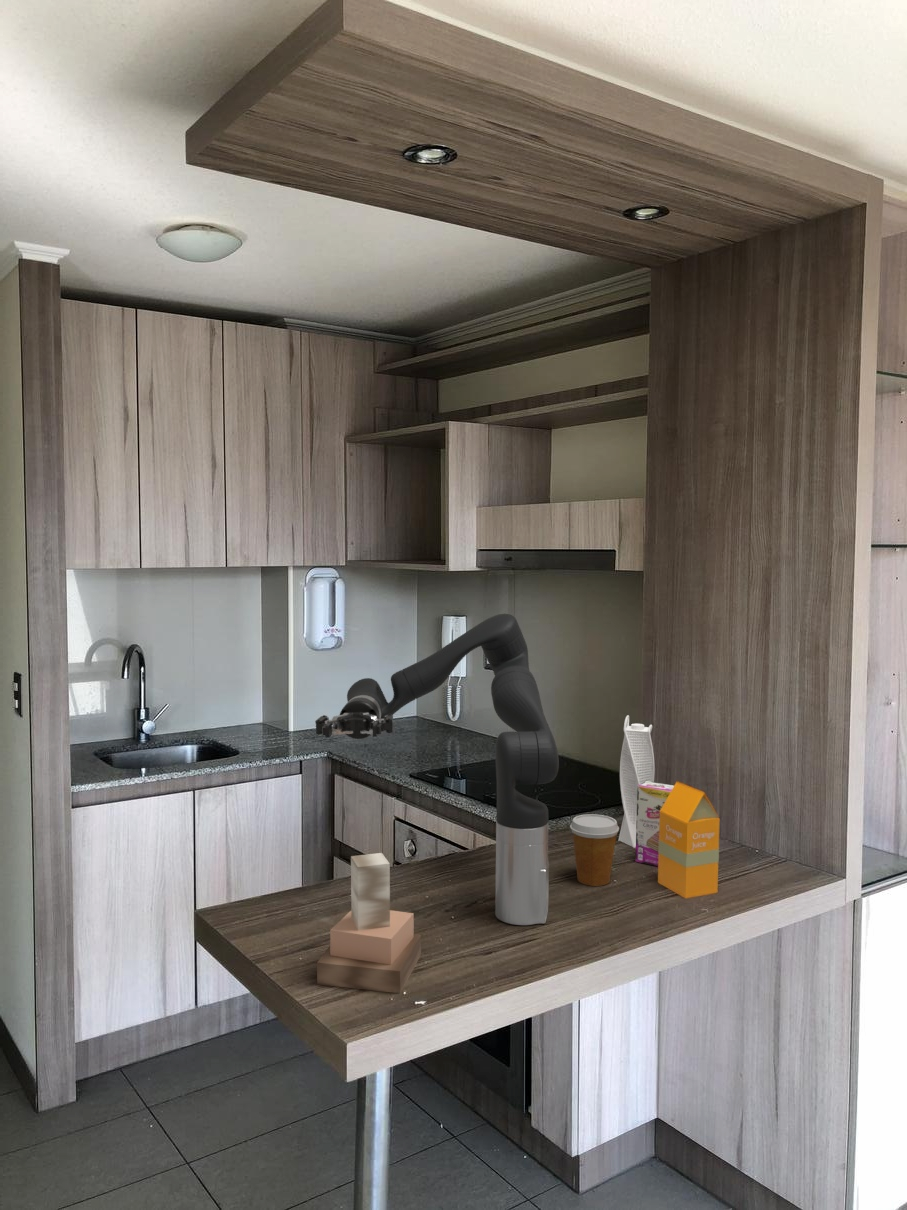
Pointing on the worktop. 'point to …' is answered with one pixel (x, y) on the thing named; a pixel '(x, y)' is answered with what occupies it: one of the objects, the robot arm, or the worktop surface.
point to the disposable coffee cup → (594, 847)
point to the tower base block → (369, 970)
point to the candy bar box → (649, 820)
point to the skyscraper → (634, 774)
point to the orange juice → (688, 843)
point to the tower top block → (372, 939)
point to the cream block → (370, 891)
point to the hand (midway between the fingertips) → (350, 731)
